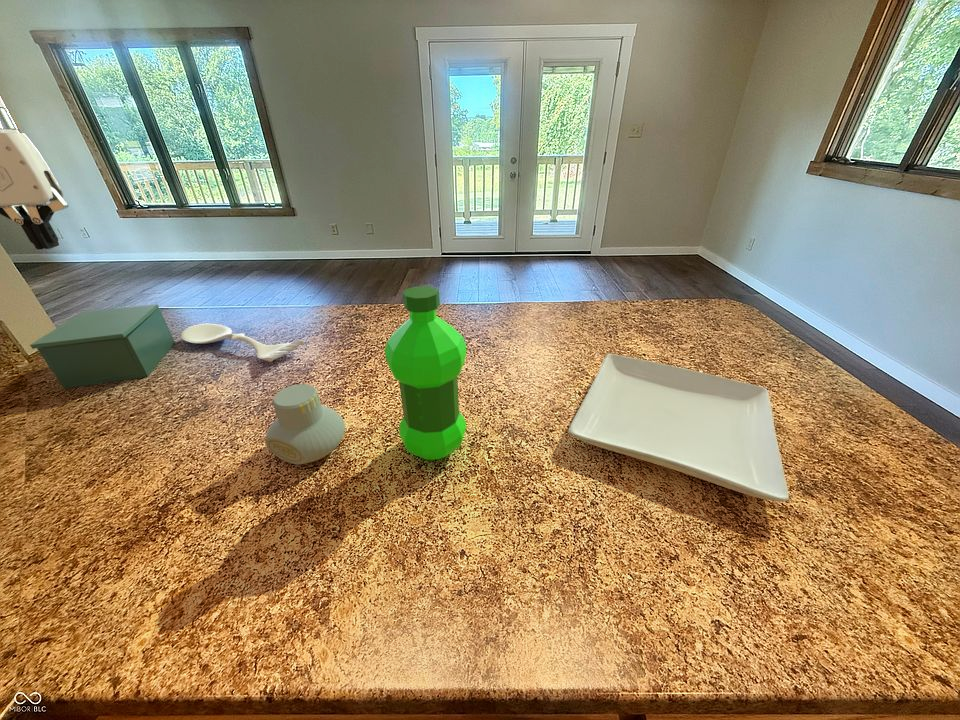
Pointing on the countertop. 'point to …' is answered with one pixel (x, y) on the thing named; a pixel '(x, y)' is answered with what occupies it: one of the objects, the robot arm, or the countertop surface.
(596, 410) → the square plate
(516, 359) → the countertop surface
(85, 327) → the lid
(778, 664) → the countertop surface
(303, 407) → the air freshener
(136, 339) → the open green box
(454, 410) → the plastic bottle
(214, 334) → the spoon
